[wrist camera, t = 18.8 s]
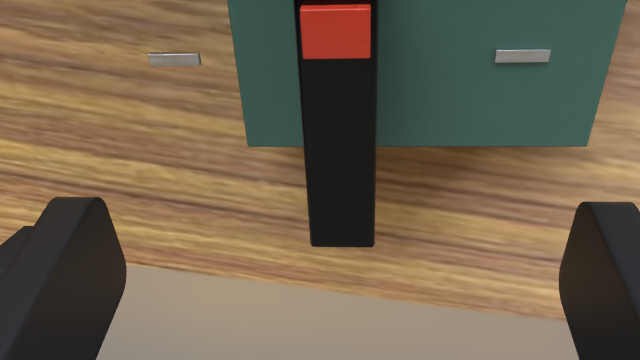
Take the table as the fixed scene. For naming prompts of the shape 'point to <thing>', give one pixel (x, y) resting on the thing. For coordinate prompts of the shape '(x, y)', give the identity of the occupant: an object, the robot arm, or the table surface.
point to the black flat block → (339, 117)
